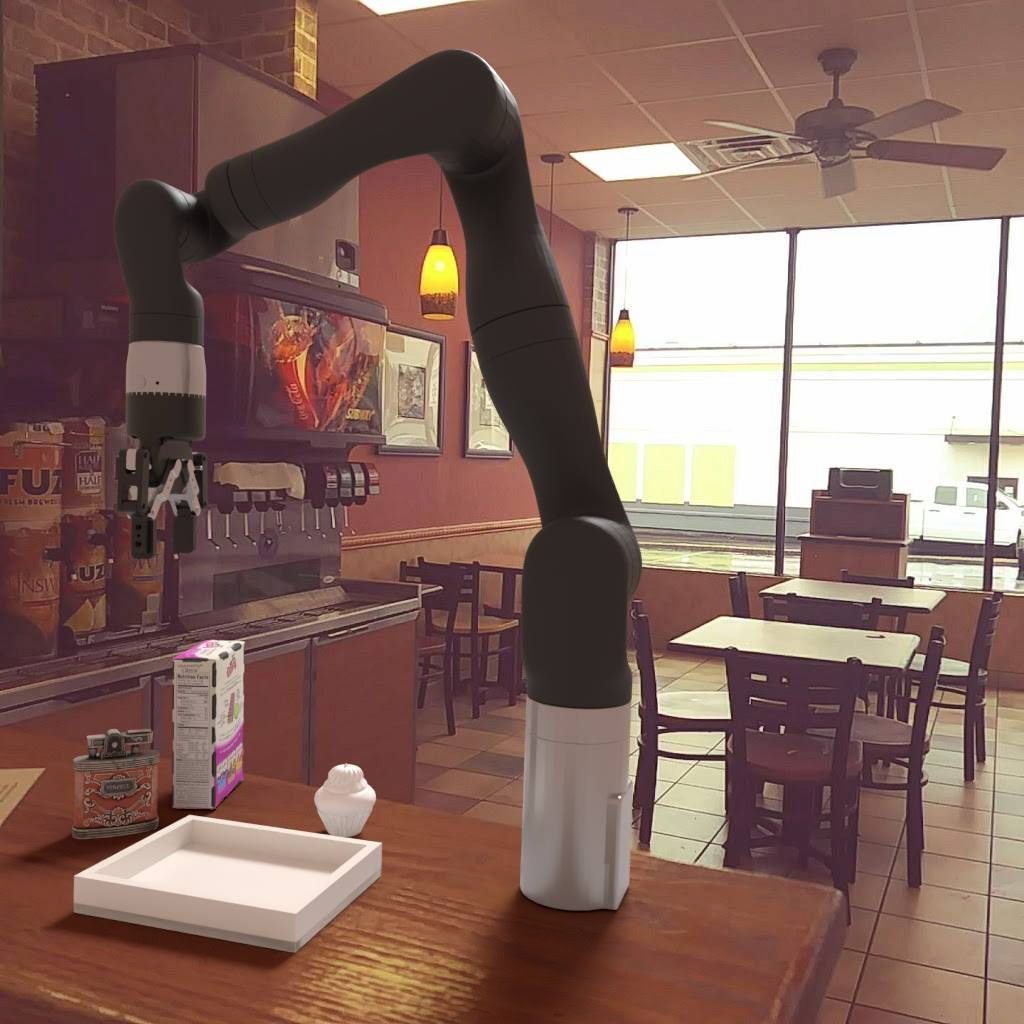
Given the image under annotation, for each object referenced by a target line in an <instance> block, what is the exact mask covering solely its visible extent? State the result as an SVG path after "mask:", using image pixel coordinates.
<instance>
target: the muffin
mask: <svg viewBox="0 0 1024 1024" xmlns="http://www.w3.org/2000/svg"><path fill="white" fill-rule="evenodd" d="M313 799H314V801H313V802H314V805H315V806H316V808H317V809H316V812H317V813H318V815H319V818H320V819H321V822H322V823H323V825H324V827H325V829H326V832H327V833H328V835H332V836H339V837H345V838H352V837H354V836H357V835H359V834H360V833H361V831H362V830H363V827H364V826H365V824H366V822H367V820H368V818H369V817H370V815H371V813H372V811H373V807H374V805H375V803H376V801H377V796H376V791H375V789H373V788H372V786H371V785H370V784H368V781H367V780H366V779H365V777H364V772H363V770H362V768H360V767H359V766H358V765H354V764H350V763H349V764H348V763H344V764H338V765H336V766H334V767H332V768H331V770H329V772H328V774H327V779H326V780H325V781H324V783H323V785H322V786H321V787H319V789H318V790H317V791H315V794H314V798H313Z"/></svg>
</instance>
